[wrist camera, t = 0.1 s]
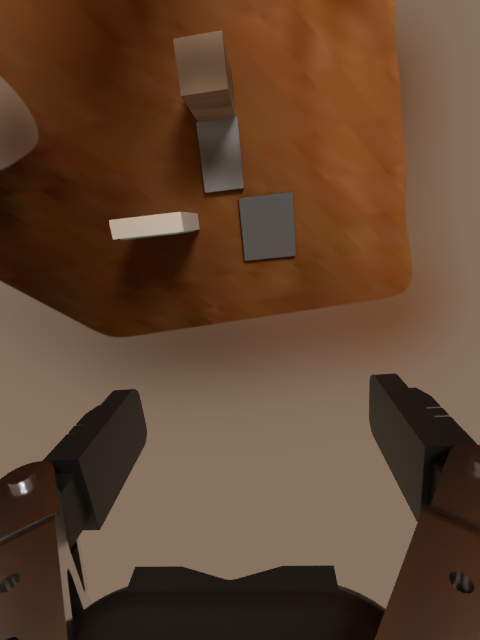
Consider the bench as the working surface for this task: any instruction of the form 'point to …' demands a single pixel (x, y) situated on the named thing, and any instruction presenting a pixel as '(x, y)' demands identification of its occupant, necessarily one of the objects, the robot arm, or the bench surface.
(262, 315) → the bench surface
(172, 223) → the slab tile
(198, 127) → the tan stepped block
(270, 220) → the mat
